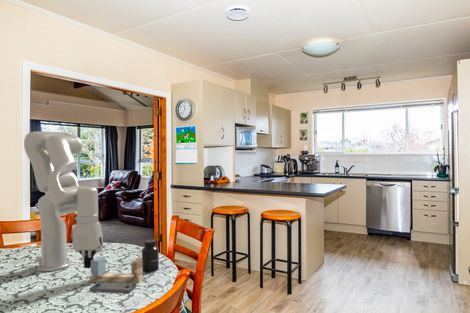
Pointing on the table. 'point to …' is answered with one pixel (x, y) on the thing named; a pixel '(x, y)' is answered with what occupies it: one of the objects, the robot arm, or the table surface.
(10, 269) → the table surface
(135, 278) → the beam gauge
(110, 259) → the table surface
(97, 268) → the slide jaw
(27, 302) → the table surface
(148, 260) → the supplement bottle
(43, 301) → the table surface
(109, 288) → the flange plate
